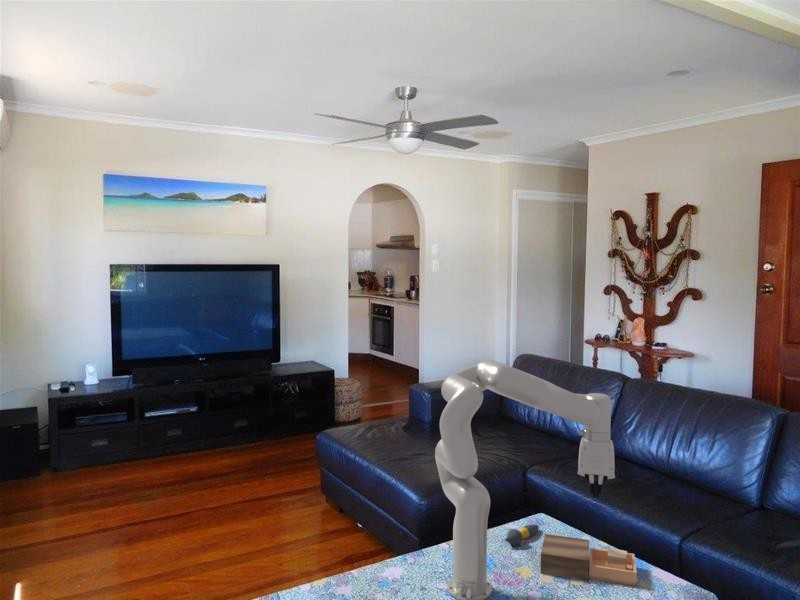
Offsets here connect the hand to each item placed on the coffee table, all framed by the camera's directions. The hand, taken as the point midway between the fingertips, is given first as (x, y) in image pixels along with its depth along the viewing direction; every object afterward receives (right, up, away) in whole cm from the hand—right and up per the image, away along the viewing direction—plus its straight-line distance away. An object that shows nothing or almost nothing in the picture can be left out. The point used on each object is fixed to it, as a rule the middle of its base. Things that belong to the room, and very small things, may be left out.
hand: (595, 495), depth 180 cm
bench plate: (-8, -23, +4) cm, 24 cm away
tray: (+5, -23, 0) cm, 23 cm away
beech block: (+6, -20, 0) cm, 21 cm away
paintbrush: (-18, -22, +22) cm, 36 cm away
